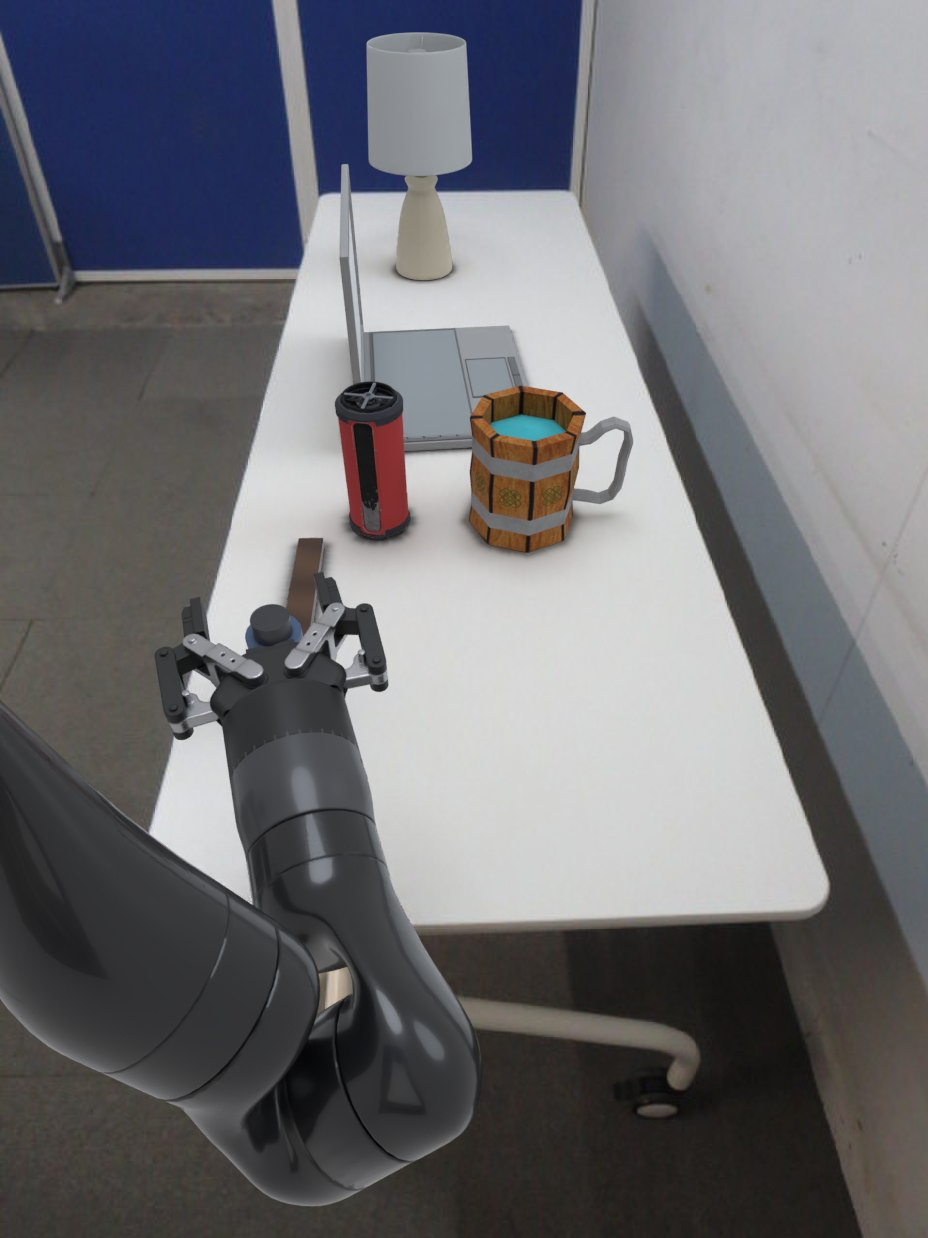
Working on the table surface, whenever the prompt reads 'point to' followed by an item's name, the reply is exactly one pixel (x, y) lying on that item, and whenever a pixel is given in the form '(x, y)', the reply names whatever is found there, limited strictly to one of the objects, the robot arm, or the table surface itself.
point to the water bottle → (272, 627)
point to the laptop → (425, 359)
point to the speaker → (374, 458)
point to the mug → (532, 466)
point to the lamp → (419, 136)
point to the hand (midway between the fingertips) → (259, 593)
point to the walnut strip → (305, 581)
